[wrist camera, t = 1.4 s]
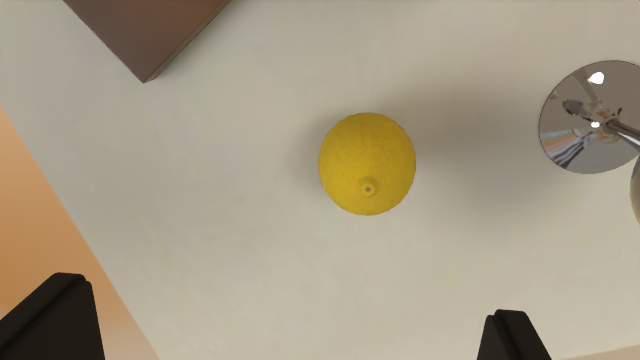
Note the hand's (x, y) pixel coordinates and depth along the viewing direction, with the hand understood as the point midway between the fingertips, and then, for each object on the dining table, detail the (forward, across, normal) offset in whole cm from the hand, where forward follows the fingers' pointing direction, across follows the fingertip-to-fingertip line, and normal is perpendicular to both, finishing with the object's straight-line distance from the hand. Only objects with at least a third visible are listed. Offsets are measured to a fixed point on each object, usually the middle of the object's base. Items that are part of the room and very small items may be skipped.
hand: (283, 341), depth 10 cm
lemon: (+20, -2, +1) cm, 20 cm away
